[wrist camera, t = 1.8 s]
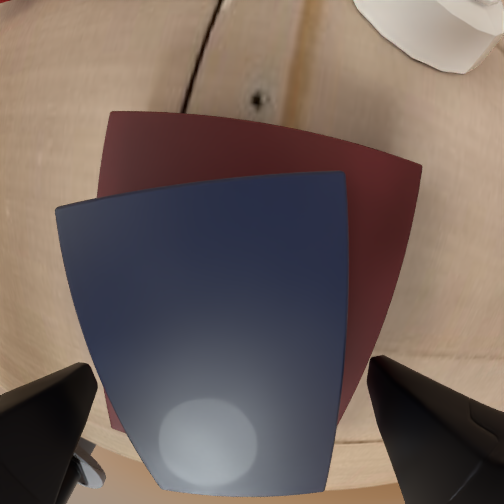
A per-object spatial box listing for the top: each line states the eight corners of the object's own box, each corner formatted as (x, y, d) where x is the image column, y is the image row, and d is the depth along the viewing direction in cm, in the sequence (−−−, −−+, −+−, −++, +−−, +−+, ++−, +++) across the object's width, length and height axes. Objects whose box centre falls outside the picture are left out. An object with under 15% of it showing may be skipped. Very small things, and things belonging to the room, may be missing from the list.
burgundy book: (308, 428, 15) (314, 465, 12) (129, 396, 15) (111, 428, 12) (388, 168, 11) (423, 165, 8) (142, 125, 11) (109, 111, 8)
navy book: (315, 432, 11) (324, 492, 8) (176, 434, 11) (159, 489, 8) (314, 175, 8) (347, 170, 5) (116, 197, 9) (51, 207, 5)
